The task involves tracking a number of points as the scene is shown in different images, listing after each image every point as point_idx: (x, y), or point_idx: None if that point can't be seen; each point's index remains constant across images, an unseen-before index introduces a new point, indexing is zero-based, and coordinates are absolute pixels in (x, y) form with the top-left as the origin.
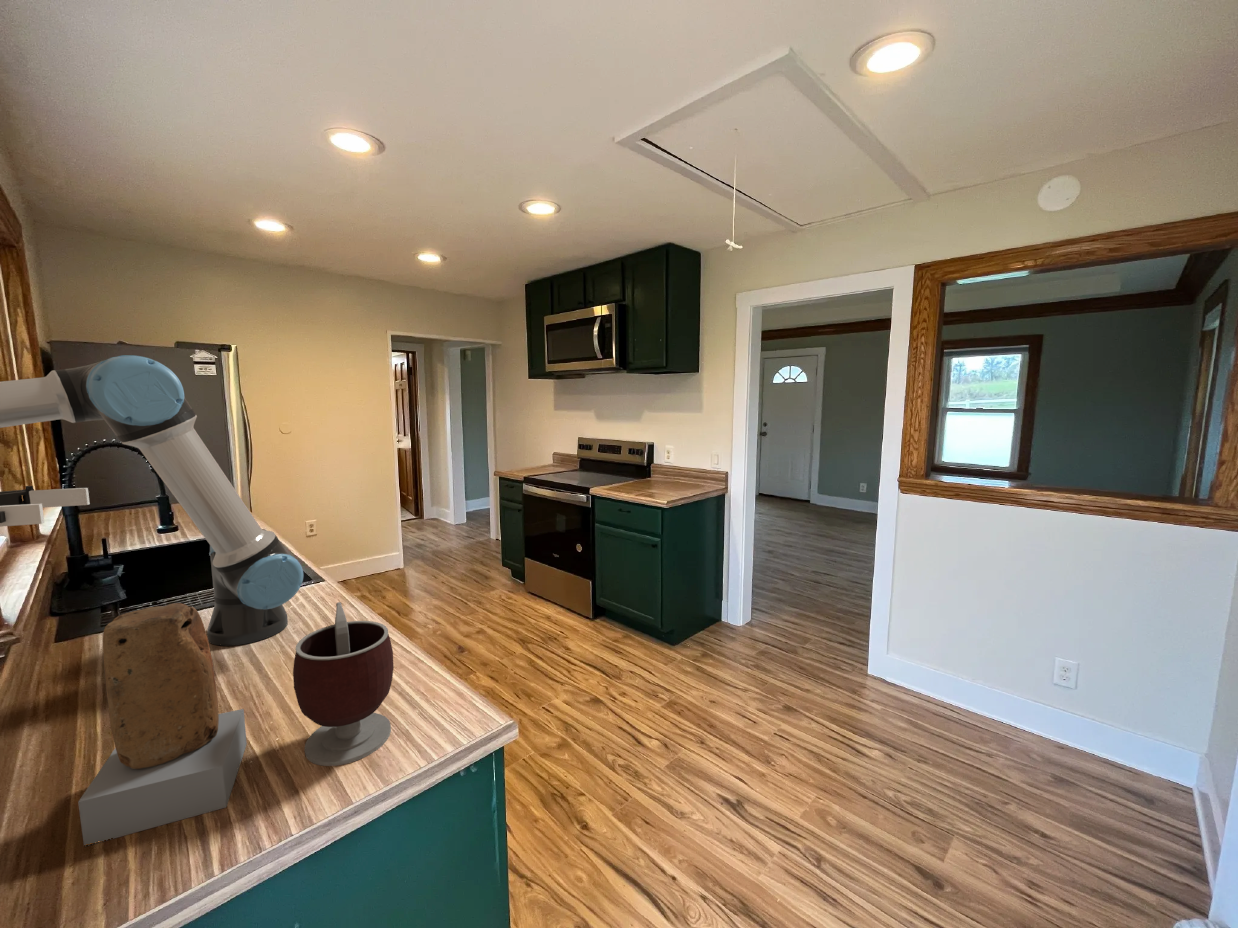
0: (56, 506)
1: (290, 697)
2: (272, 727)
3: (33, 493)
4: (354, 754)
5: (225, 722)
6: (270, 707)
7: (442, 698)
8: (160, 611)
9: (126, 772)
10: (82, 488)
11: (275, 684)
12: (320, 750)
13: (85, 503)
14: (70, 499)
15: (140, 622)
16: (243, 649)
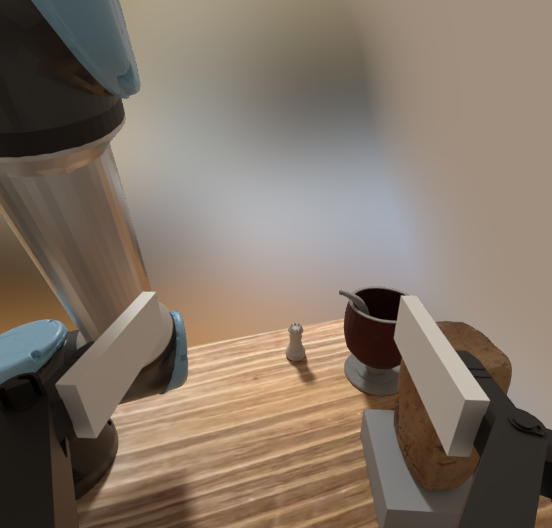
0: (134, 379)
1: (290, 408)
2: (338, 418)
3: (86, 383)
4: (399, 368)
5: (385, 419)
6: (301, 422)
7: (339, 328)
8: (453, 335)
9: (463, 484)
10: (149, 296)
11: (254, 421)
12: (389, 384)
13: (163, 331)
14: (145, 339)
15: (490, 342)
16: (128, 461)
